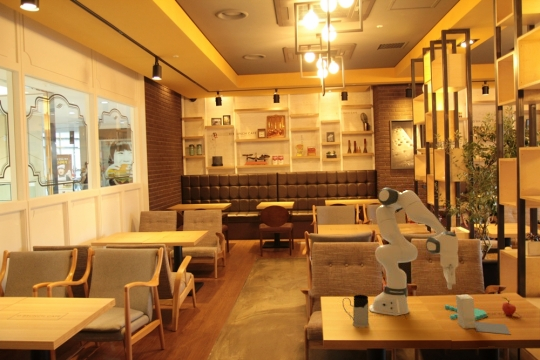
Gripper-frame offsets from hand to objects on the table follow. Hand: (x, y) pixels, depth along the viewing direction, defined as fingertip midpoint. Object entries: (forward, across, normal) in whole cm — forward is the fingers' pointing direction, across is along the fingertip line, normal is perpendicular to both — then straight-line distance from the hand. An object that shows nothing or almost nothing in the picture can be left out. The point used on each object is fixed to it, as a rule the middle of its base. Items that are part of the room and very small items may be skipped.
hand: (449, 288), depth 249 cm
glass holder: (+19, -9, +48) cm, 53 cm away
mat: (+20, 0, -20) cm, 28 cm away
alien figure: (+20, +20, -11) cm, 30 cm away
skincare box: (+20, 0, -8) cm, 21 cm away
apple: (+20, +23, -33) cm, 45 cm away
